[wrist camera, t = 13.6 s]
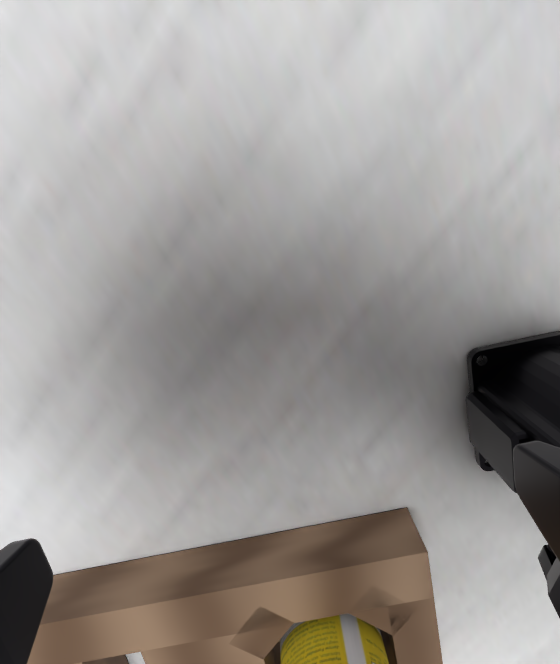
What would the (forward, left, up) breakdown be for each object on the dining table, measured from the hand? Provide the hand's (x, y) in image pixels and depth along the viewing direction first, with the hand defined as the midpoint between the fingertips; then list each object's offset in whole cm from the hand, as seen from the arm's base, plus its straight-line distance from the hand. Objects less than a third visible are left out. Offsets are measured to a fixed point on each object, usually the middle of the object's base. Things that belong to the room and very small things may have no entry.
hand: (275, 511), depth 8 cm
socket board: (+6, +17, -12) cm, 22 cm away
